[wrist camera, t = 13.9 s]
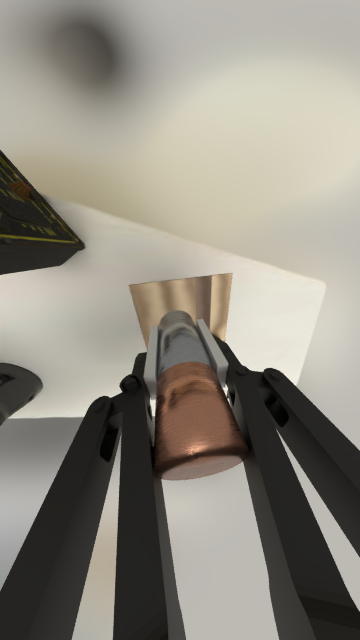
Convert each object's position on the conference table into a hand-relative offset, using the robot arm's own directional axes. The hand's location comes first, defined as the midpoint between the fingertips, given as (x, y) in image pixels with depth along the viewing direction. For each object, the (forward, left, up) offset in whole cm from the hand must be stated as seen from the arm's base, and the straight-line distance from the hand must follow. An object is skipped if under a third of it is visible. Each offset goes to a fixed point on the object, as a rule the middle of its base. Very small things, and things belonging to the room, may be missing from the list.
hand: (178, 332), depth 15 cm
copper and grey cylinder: (0, 0, -1) cm, 1 cm away
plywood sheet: (+3, -12, -18) cm, 21 cm away
